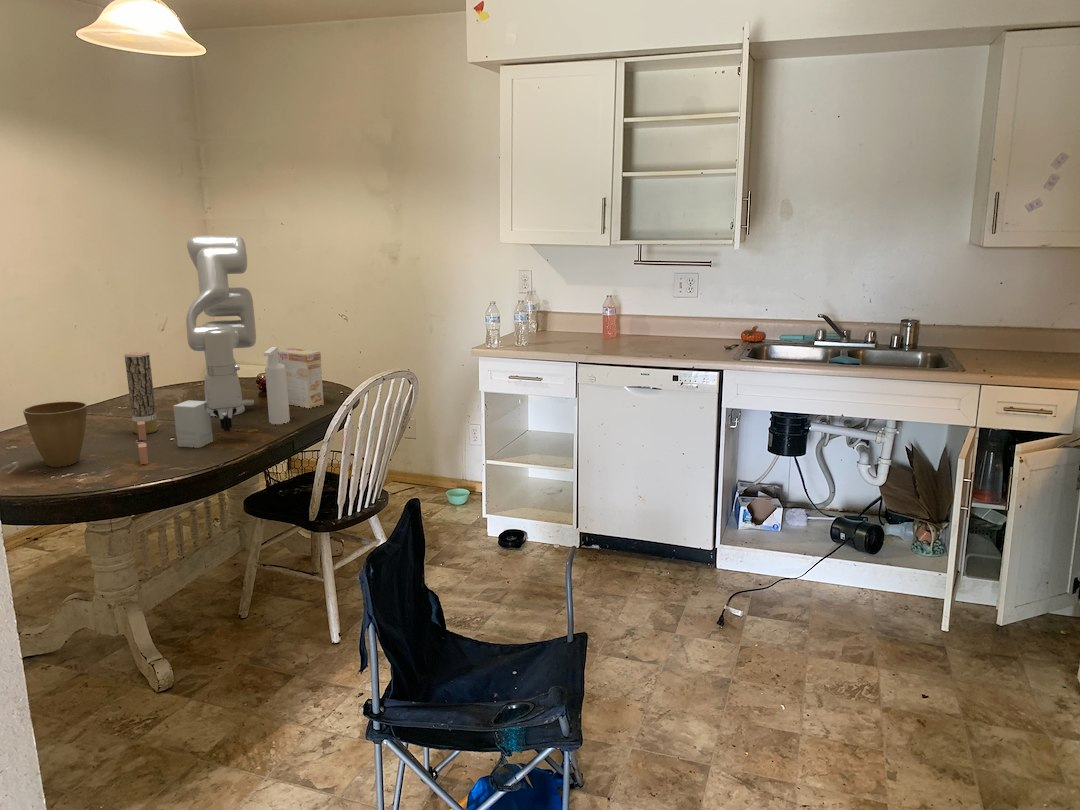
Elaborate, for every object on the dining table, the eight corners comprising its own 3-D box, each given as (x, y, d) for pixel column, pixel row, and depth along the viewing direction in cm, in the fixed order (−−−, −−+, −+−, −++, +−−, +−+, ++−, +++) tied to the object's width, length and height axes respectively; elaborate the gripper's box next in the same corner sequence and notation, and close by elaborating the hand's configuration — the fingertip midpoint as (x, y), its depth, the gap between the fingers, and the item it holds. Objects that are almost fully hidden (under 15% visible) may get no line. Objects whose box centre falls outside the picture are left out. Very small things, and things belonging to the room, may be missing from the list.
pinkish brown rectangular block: (146, 436, 247) (144, 420, 246) (148, 464, 221) (146, 446, 220) (139, 437, 246) (137, 421, 245) (140, 465, 220) (138, 447, 219)
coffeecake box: (324, 405, 288) (321, 351, 283) (309, 409, 282) (305, 354, 277) (295, 399, 295) (292, 347, 291) (280, 403, 290) (276, 350, 285)
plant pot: (87, 469, 217) (79, 411, 213) (24, 473, 213) (15, 415, 209) (99, 453, 231) (92, 399, 227) (40, 457, 227) (32, 402, 223)
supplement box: (214, 441, 243) (210, 400, 240) (198, 448, 236) (194, 406, 233) (192, 439, 244) (188, 399, 241) (176, 446, 237) (172, 405, 234)
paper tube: (134, 435, 248) (124, 356, 242) (133, 430, 254) (124, 352, 248) (158, 433, 251) (149, 354, 245) (157, 428, 257) (148, 350, 251)
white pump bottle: (298, 416, 271) (290, 343, 265) (284, 426, 260) (275, 351, 253) (279, 416, 272) (270, 343, 265) (264, 426, 260) (254, 351, 254)
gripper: (246, 366, 245) (251, 424, 249) (193, 370, 239) (199, 430, 243) (249, 370, 239) (254, 430, 243) (194, 375, 232) (201, 436, 236)
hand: (226, 430), depth 243 cm, fingers closed
